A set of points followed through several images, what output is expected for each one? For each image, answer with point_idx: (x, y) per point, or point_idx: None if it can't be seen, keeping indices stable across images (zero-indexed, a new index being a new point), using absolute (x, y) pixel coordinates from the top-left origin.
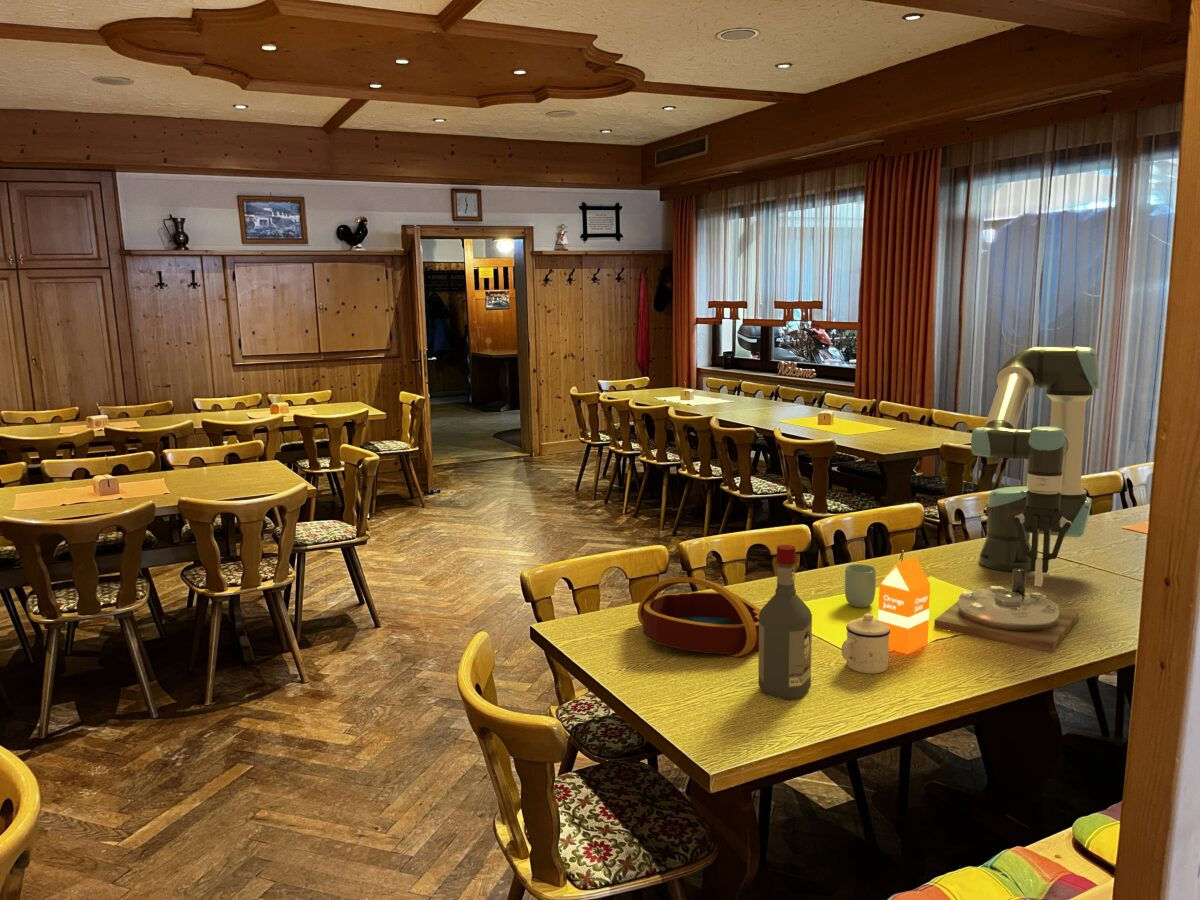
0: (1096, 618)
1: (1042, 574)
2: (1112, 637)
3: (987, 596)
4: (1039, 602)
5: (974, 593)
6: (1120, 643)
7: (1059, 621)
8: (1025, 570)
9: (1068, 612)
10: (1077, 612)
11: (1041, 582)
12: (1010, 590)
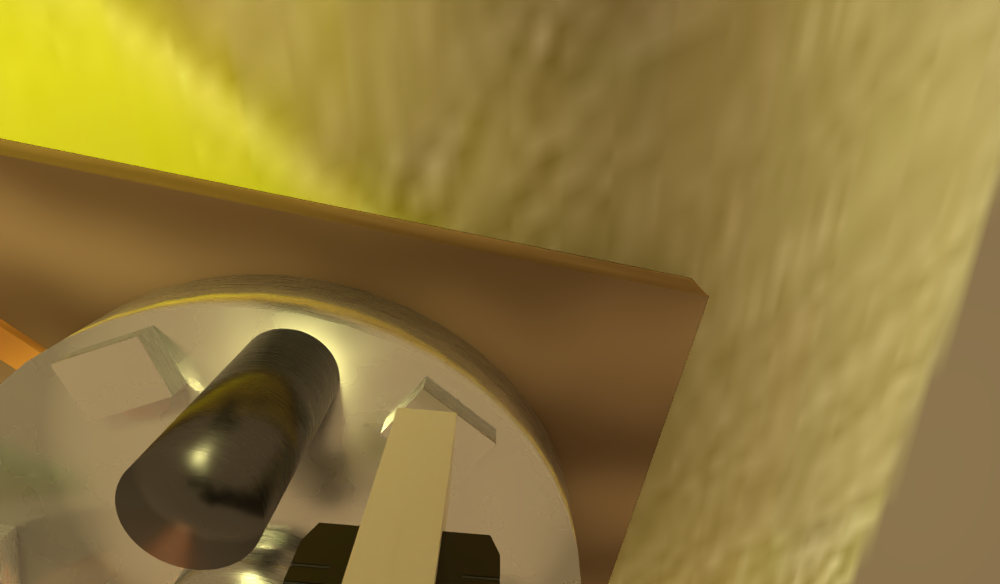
0: (807, 203)
1: (443, 528)
2: (822, 491)
3: (113, 528)
4: (457, 524)
5: (11, 498)
6: (840, 553)
7: (576, 514)
8: (253, 504)
9: (639, 336)
10: (696, 315)
11: (447, 512)
12: (220, 325)
